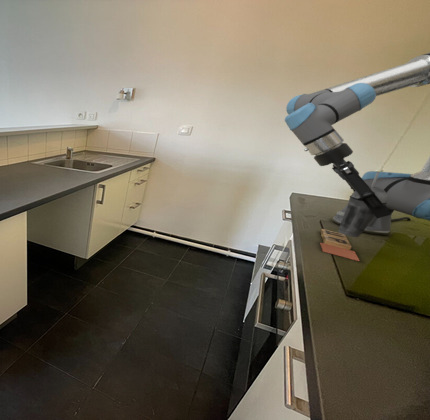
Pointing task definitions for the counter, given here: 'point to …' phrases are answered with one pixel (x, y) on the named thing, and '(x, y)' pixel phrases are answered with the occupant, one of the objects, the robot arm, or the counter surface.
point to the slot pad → (339, 251)
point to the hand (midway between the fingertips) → (379, 212)
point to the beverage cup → (360, 212)
